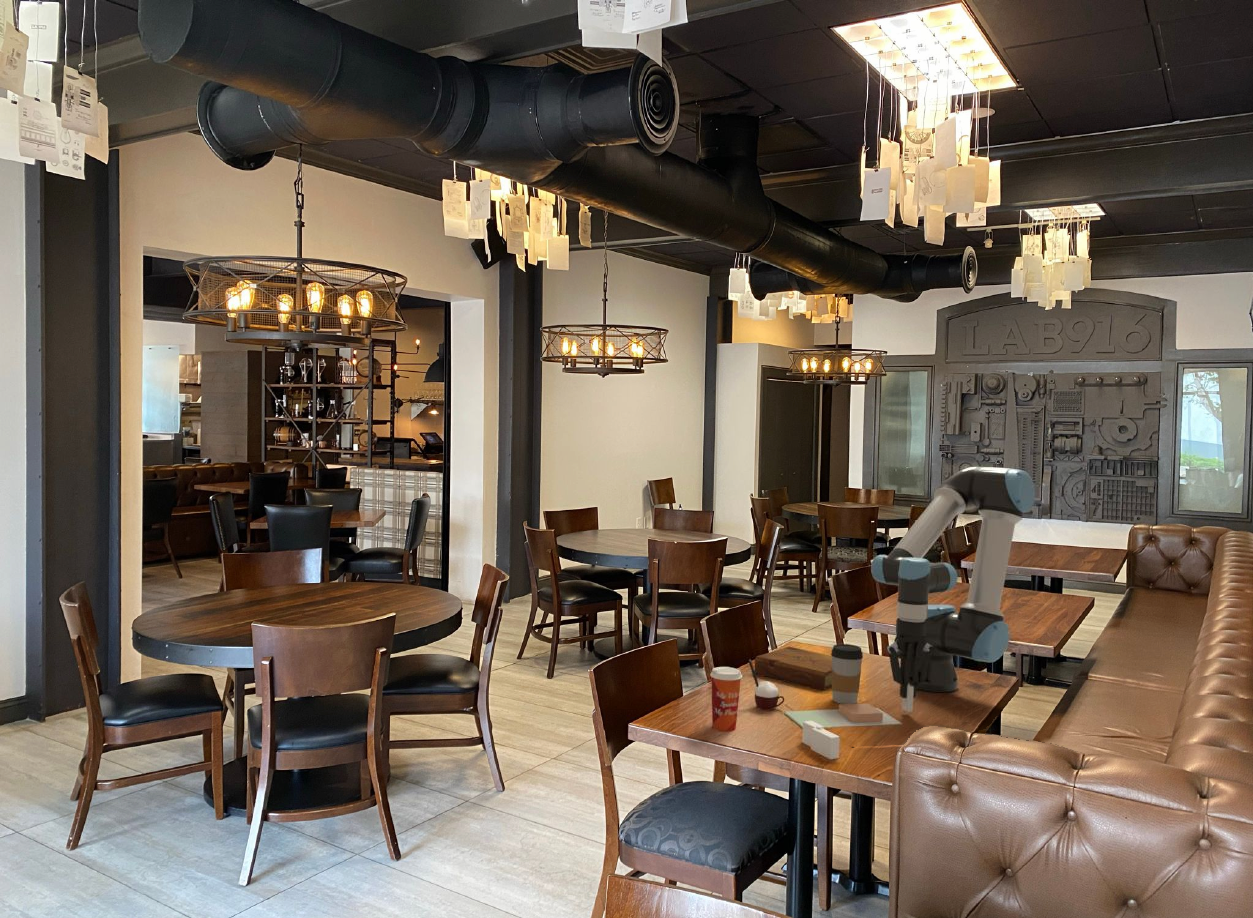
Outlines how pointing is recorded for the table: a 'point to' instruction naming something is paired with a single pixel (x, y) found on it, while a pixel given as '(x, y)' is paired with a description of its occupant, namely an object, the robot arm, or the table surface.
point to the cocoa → (765, 693)
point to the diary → (797, 667)
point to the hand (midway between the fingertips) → (907, 710)
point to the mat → (834, 718)
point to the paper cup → (725, 697)
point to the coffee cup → (846, 673)
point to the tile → (860, 712)
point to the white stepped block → (820, 740)
